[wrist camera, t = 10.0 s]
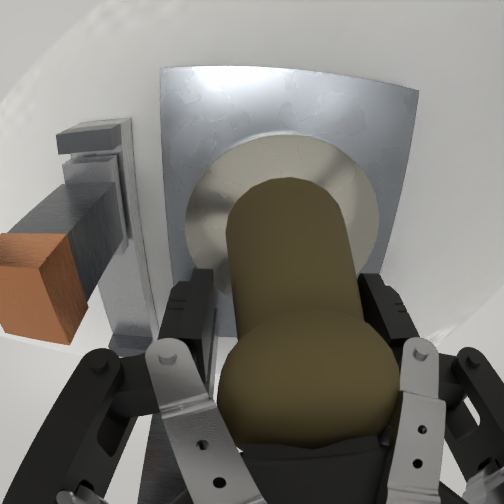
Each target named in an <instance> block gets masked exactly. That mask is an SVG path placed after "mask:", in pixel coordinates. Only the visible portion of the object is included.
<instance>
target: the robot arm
mask: <svg viewBox="0 0 504 504" xmlns="http://www.w3.org/2000/svg"><path fill="white" fill-rule="evenodd" d="M357 282H358V287H359V292H360V298H361V304H362V309H363V315H364V321H365V322H366V323H368V324H370V325H371V326H372V327H373V329H374V330H375V331H376V332H377V333H378V334H379V335H380V336H381V337H382V338H383V339H384V341H385V342H386V343H387V344H388V346H389V347H390V348H391V349H392V351H393V354H394V357H395V359H396V362H397V364H398V368H399V373H400V391H399V394H398V398H397V401H396V405H395V409H394V411H393V413H392V415H391V417H390V419H389V421H388V423H387V425H386V426H385V428H384V429H383V430H382V432H381V433H380V434H379V436H378V437H377V435H376V436H369V437H362V438H354V439H346V440H343V441H341V442H338V443H335V444H332V445H329V446H326V447H323V448H320V449H316V450H310V449H304V448H298V447H292V446H287V445H282V444H244V449H243V452H240V453H239V452H238V450H237V447H236V445H235V443H234V441H233V439H232V437H231V435H230V433H229V431H228V429H227V427H226V425H225V423H224V421H223V418H222V416H221V414H220V412H219V410H218V408H217V406H216V404H215V402H214V400H213V399H212V398H210V397H209V396H208V394H207V392H206V389H205V387H204V385H203V383H206V381H207V371H208V362H209V353H210V344H211V335H212V326H213V318H214V278H213V269H203V268H193V271H192V276H191V280H190V281H179V282H178V283H177V284H176V285H175V286H174V287H173V288H172V289H171V292H170V296H169V301H168V303H167V306H166V310H165V313H164V317H163V320H162V324H161V328H160V331H159V335H158V339H157V341H155V342H154V343H152V344H151V345H150V346H149V347H148V348H147V350H146V352H144V353H142V354H139V355H135V356H129V357H123V358H119V356H118V355H117V354H116V353H115V352H114V351H112V350H110V349H106V348H99V349H95V350H92V351H90V352H88V353H87V354H86V355H85V356H84V357H83V358H82V359H81V361H80V363H79V364H78V366H77V367H76V369H75V370H74V372H73V374H72V375H71V377H70V378H69V380H68V382H67V383H66V385H65V387H64V388H63V390H62V392H61V393H60V395H59V397H58V398H57V400H56V402H55V404H54V405H53V407H52V409H51V410H50V412H49V414H48V416H47V417H46V419H45V421H44V423H43V425H42V426H41V428H40V430H39V432H38V433H37V435H36V437H35V439H34V441H33V442H32V444H31V446H30V448H29V450H28V452H27V454H26V456H25V457H24V460H23V461H22V463H21V465H20V467H19V469H18V471H17V473H16V475H15V477H14V479H13V481H12V483H11V485H10V487H9V489H8V492H7V494H6V496H5V498H4V500H3V503H2V504H109V503H108V502H106V501H105V500H104V497H105V494H106V492H107V489H108V487H109V484H110V482H111V479H112V477H113V474H114V472H115V469H116V467H117V464H118V462H119V460H120V458H121V455H122V453H123V450H124V448H125V446H126V443H127V441H128V439H129V436H130V434H131V432H132V430H133V427H134V425H135V423H136V420H137V418H138V416H144V415H149V414H156V413H161V416H162V420H163V423H164V426H165V429H166V432H167V435H168V438H169V440H170V443H171V446H172V449H173V452H174V454H175V457H176V460H177V463H178V465H179V468H180V470H181V473H182V476H183V478H184V481H185V483H186V486H187V488H186V489H185V490H184V491H183V492H182V493H181V494H180V495H179V496H178V497H177V498H176V499H175V500H174V501H173V502H171V503H170V504H504V383H503V382H502V380H501V379H500V377H499V376H498V374H497V373H496V372H495V370H494V369H493V367H492V366H491V364H490V363H489V362H488V360H487V359H486V358H485V356H484V355H483V354H482V353H481V352H480V351H479V350H476V349H475V348H471V347H465V348H462V349H461V350H460V351H459V353H458V354H457V356H452V355H446V354H441V353H438V351H437V349H436V347H435V346H434V345H433V344H432V343H431V342H430V341H428V340H426V339H423V338H420V336H419V334H418V332H417V330H416V328H415V326H414V324H413V322H412V319H411V317H410V315H409V313H407V309H406V308H405V306H404V305H403V302H402V300H401V298H400V296H399V294H398V293H397V292H396V291H395V290H394V289H393V288H392V287H391V286H385V284H384V282H383V280H382V278H381V276H380V275H379V274H378V273H360V274H359V276H358V279H357ZM467 396H468V398H469V399H470V401H471V402H472V404H473V406H474V407H475V409H476V411H477V412H478V414H479V416H480V425H479V426H478V425H477V423H476V421H475V419H474V418H473V416H472V414H471V413H470V411H469V409H468V408H467V406H466V404H465V403H464V399H465V398H466V397H467ZM444 439H445V441H446V442H447V444H448V446H449V448H450V450H451V452H452V454H453V456H454V458H455V460H456V462H457V464H458V466H459V468H460V470H461V472H462V474H463V476H464V478H465V480H466V482H467V485H466V491H465V492H464V493H463V496H462V498H461V497H460V496H459V495H457V494H456V493H455V492H453V491H452V490H451V489H450V488H448V487H447V486H446V485H445V484H443V483H442V482H441V481H439V479H440V471H441V463H442V454H443V445H444Z"/></svg>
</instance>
